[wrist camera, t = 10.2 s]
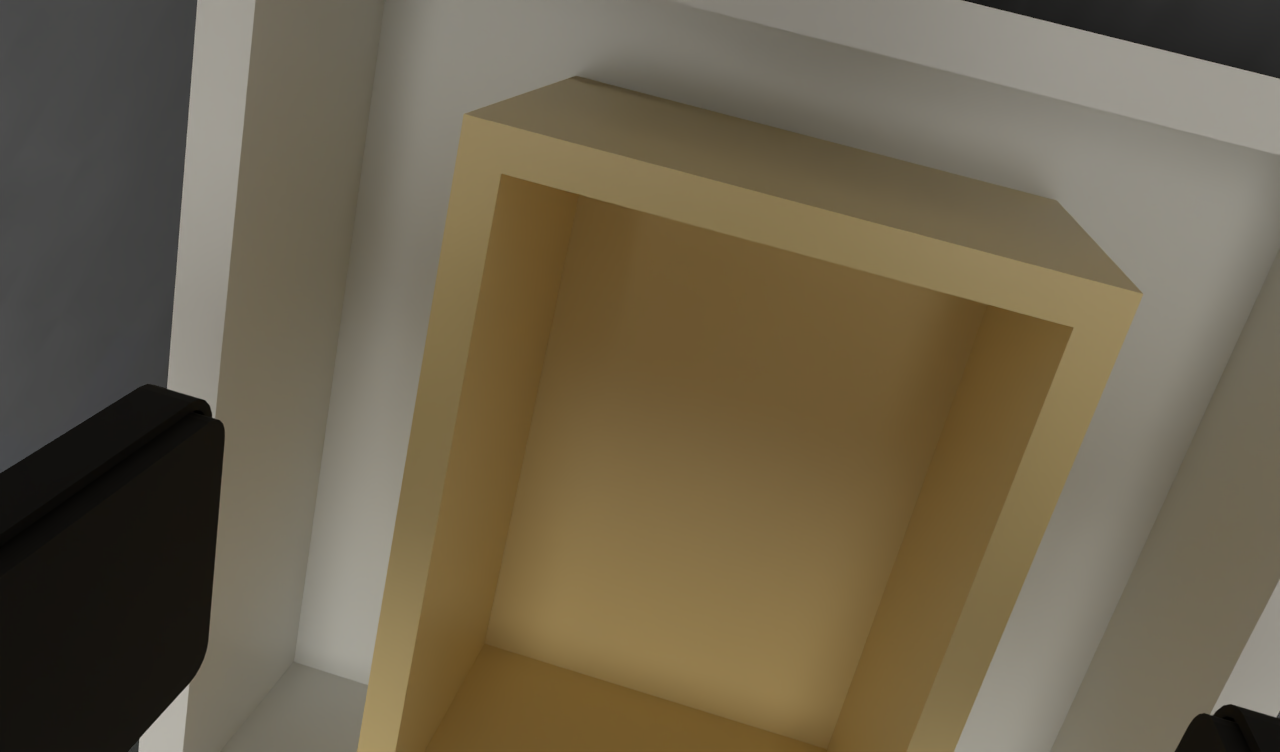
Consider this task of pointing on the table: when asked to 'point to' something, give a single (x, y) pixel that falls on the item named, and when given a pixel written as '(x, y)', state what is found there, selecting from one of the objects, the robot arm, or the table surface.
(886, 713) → the small crate
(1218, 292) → the large crate
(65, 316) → the table surface
